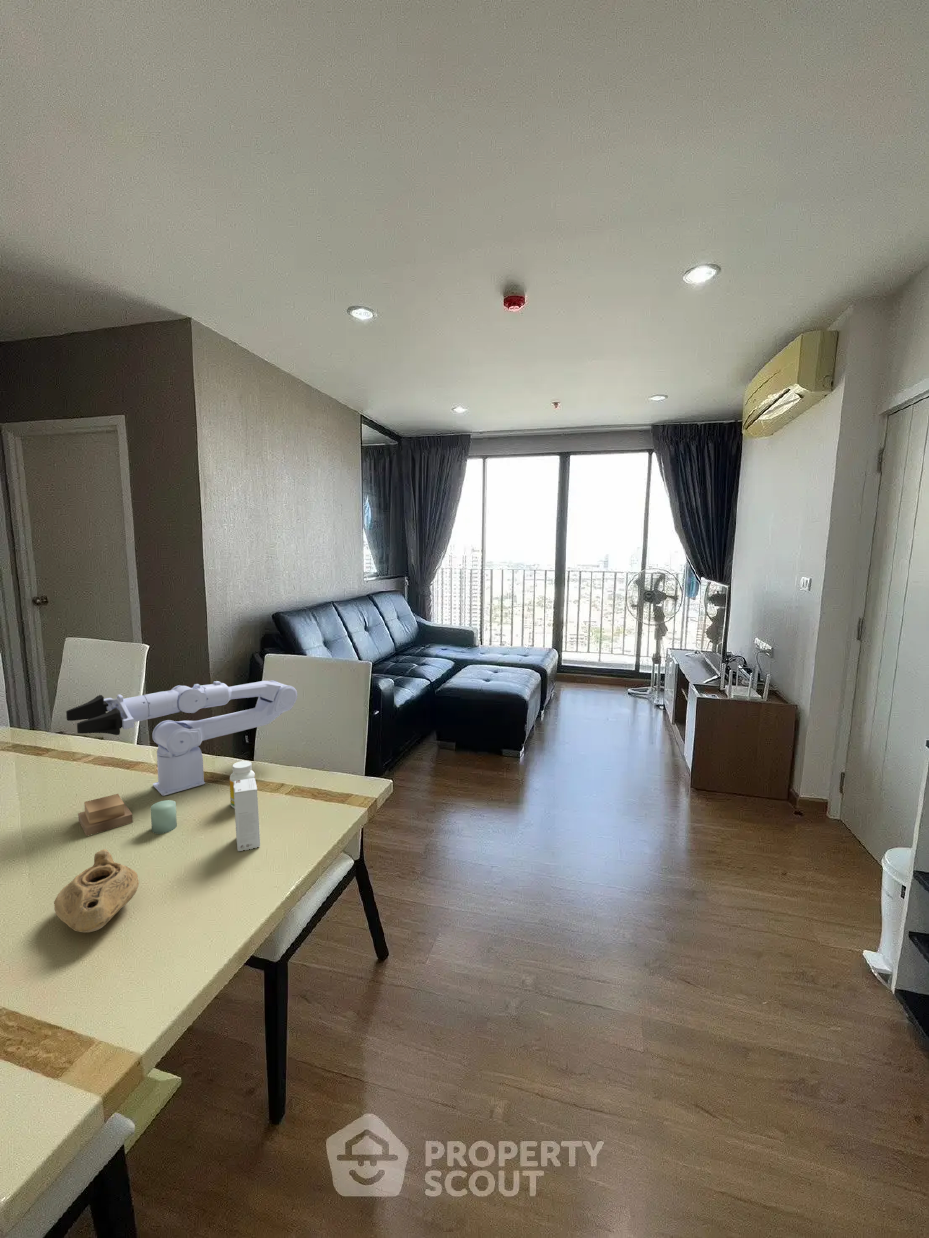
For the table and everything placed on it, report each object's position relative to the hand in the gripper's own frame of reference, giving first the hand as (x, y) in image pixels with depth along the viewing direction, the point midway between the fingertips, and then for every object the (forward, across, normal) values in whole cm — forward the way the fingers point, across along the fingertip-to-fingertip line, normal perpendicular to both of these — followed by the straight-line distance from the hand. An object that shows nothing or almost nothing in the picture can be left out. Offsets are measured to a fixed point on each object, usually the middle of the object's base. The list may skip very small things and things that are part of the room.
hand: (72, 721), depth 108 cm
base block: (-3, +10, +21) cm, 23 cm away
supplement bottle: (-26, +23, +19) cm, 39 cm away
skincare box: (-19, +38, +17) cm, 46 cm away
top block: (-3, +9, +18) cm, 21 cm away
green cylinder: (-10, +21, +19) cm, 30 cm away
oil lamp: (+7, +41, +16) cm, 45 cm away
